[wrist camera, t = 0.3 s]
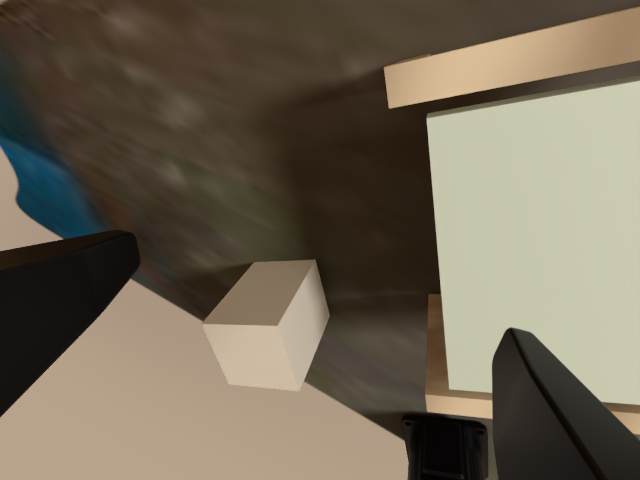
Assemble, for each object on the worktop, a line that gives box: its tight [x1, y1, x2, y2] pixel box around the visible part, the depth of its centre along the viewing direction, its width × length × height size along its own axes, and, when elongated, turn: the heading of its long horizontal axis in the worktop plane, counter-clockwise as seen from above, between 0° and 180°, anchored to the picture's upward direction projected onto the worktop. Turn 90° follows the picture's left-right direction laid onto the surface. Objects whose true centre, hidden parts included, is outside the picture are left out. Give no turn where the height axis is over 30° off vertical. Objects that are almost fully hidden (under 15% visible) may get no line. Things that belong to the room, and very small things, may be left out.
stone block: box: [202, 260, 330, 391], centre depth 24 cm, size 5×5×7 cm
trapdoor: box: [427, 75, 640, 405], centre depth 12 cm, size 10×12×1 cm
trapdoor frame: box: [384, 6, 640, 434], centre depth 15 cm, size 13×15×8 cm
